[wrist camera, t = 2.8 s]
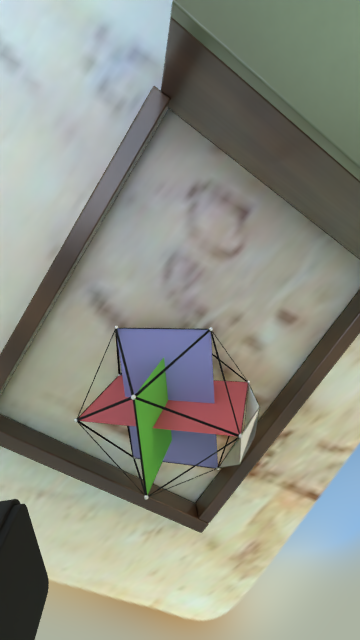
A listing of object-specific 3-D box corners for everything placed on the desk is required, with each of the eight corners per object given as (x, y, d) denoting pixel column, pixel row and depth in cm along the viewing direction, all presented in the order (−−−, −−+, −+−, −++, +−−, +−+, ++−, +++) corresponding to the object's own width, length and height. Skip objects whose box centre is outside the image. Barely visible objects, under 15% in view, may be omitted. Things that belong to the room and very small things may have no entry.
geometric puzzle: (65, 464, 16) (175, 584, 10) (37, 332, 14) (154, 390, 8) (173, 404, 21) (291, 463, 15) (163, 298, 19) (294, 320, 13)
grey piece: (198, 516, 21) (222, 642, 14) (-30, 414, 17) (-129, 522, 11) (549, 66, 16) (822, -43, 9) (327, -208, 12) (525, -675, 6)
